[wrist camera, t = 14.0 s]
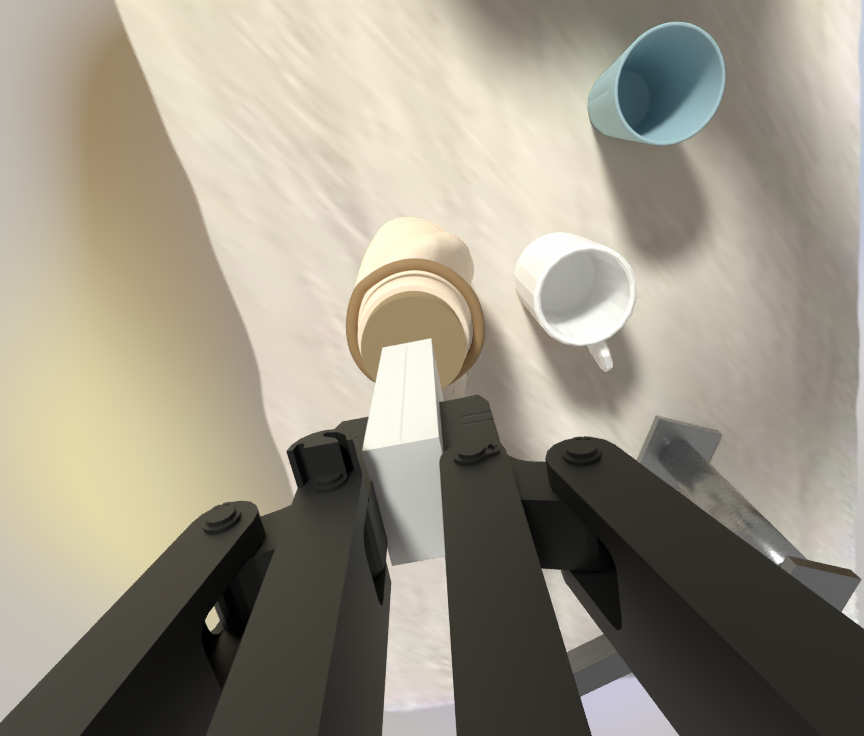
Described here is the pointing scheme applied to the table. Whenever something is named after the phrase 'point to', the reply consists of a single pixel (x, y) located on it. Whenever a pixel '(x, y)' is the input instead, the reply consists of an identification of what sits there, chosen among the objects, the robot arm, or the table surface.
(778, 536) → the post
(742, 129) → the table surface
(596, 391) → the table surface
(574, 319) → the mug
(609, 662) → the bar
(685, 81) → the cup
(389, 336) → the water bottle
